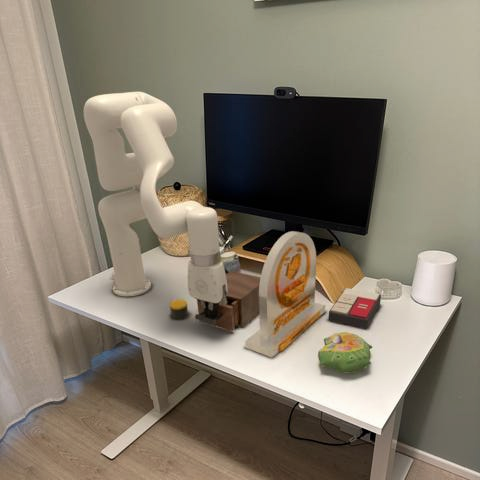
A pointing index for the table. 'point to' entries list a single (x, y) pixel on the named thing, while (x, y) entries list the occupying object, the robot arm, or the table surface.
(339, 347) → the educational model
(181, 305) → the jar
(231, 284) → the cabinet
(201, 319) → the drawer
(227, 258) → the beverage can
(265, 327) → the award
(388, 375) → the table surface
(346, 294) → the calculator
